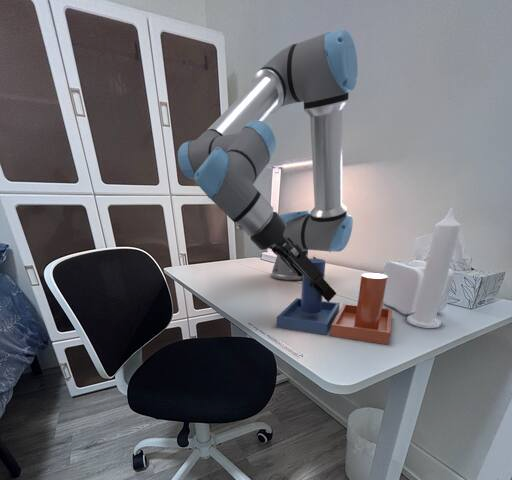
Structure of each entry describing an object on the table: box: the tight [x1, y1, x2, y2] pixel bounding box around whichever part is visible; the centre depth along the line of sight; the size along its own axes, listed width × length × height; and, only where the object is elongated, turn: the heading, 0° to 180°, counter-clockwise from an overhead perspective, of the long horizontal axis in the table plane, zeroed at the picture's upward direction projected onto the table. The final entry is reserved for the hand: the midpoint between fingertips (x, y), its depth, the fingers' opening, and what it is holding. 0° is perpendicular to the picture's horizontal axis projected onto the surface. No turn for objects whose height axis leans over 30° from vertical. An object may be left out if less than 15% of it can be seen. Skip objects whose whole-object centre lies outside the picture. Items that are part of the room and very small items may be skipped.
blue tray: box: [276, 297, 340, 336], centre depth 71 cm, size 16×12×3 cm
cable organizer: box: [382, 259, 455, 316], centre depth 77 cm, size 15×11×12 cm
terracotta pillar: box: [354, 272, 388, 330], centre depth 62 cm, size 5×5×12 cm
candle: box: [406, 206, 461, 329], centre depth 64 cm, size 7×7×25 cm
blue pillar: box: [300, 258, 327, 314], centre depth 69 cm, size 5×5×12 cm
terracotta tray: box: [330, 303, 393, 346], centre depth 67 cm, size 16×12×3 cm
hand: (325, 293), depth 71 cm, fingers closed on blue pillar, 5 cm apart
